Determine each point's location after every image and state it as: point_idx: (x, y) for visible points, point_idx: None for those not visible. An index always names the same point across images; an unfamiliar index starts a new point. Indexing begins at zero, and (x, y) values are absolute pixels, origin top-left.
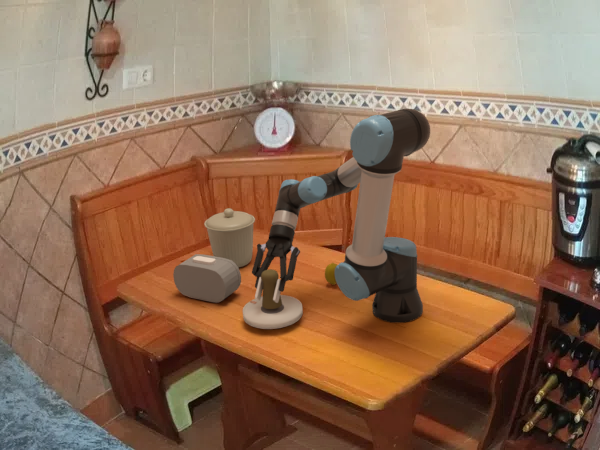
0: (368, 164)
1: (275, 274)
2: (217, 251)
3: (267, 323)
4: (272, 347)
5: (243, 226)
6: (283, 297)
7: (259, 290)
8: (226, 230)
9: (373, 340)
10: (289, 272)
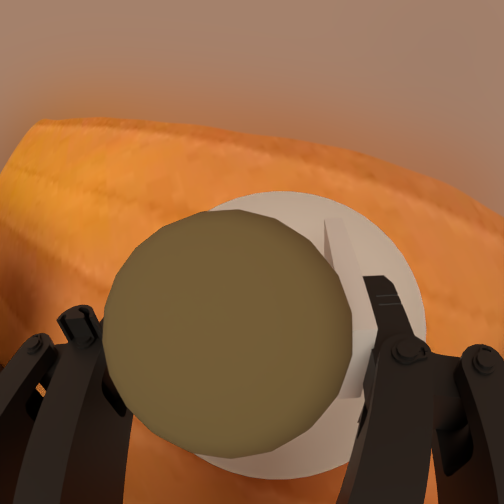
0: None
1: (109, 298)
2: None
3: (243, 198)
4: (212, 160)
5: None
6: (259, 457)
7: (330, 260)
8: None
9: (10, 276)
10: (13, 369)
